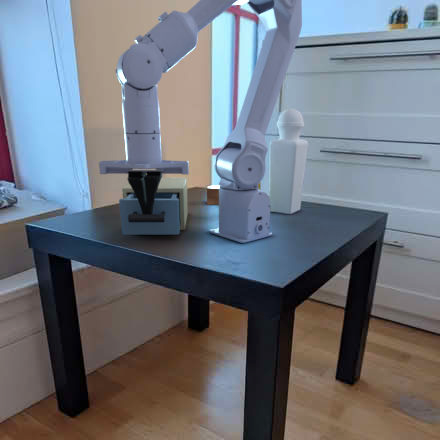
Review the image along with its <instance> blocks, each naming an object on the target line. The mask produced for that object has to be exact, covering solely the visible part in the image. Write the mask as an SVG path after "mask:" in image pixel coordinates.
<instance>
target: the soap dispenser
mask: <svg viewBox="0 0 440 440" xmlns="http://www.w3.org/2000/svg"><path fill="white" fill-rule="evenodd" d="M275 125H276V128H277V130H278V134H279V138H278V139H272V140H271V141H270V142H269V160H268V161H269V165H268V167H269V168H268V171H269V172H268V173H269V174H268V179H269V180H268V196H269V198H270V202H271V210H270V213H271V212H272V213H277V214H283V215H284V214H285V215H292V214H294V213H296V212H298V211H300V210H301V206H302V197H303V191H304V190H303V189H304V180H305V174H306V173H305V172H306V164H307V156H308V147H309V142H308V141H307V140H306V139H302V138H300V137H301V136H300V135H301V132H302V130H303V128H304V127H305V122H304V117H303V115H302V112H300V111H299V110H298V109H295V108H286V109H285V110H283V111H282V112H281V113H280V115H279V117H278V119H277V122H276V124H275Z"/></svg>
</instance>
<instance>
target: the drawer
mask: <svg viewBox="0 0 440 440" xmlns="http://www.w3.org/2000/svg"><path fill="white" fill-rule="evenodd" d="M118 205H119V214H120V225H121V234H122V235H125V236H127V235H128V236H129V235H130V236H131V235H132V236H133V235H135V236H136V235H137V236H138V235H139V236H140V235H142V236H143V235H144V236H145V235H147V236H148V235H156V236H158V235H163V236H164V235H165V236H166V235H167V236H168V235H169V236H170V235H173V236H174V235H175V236H176V235H180V233H181V230H180V223H179V217H180V208H179V193H156V196H155V200H154V205H153V214H142V210H141V207H140V204H139V201H138V199H137V197H136V195H135V193H130V194H129V195H128V196H127V198H126V199H123V198H119V200H118Z"/></svg>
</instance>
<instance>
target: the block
mask: <svg viewBox="0 0 440 440" xmlns="http://www.w3.org/2000/svg"><path fill="white" fill-rule="evenodd" d="M206 206H219V185H206Z"/></svg>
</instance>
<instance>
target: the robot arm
mask: <svg viewBox="0 0 440 440" xmlns="http://www.w3.org/2000/svg"><path fill="white" fill-rule="evenodd" d="M244 4H247V5H248V6H249V8H250V9H251V10H252V12H253V13H254V14H255V15H256V17H258V19H259V20H260V21H261V24H262V26H263V28H264V30H265V35H264V39H263V41H262V44H261V47H260V50H259V54H258V57H257V60H256V63H255V66H254V69H253V72H252V75H251V79H250V81H249V84H248V88H247V90H246V94H245V97H244V100H243V103H242V106H241V109H240V112H239V116H238V119H237V121H236V125H235V127H234V128H233V130H232V131H231V132H230V133H229V135H228V136H227V137H226V140H225V143H224V145H223V147H221V149H220V150H219V151H218V152H217V154H216V155H215V158H214V162H213V163H214V170H215V173H216V174H217V176H218V177H219V179H220V180H219V181H218V186H219V205H218V227H217V228H212V229H209V231H208V232H209V233H210V234H212V235H216V236H219V237H222V238H225V239H228V240H231V241H235V242H238V243H241V244H245V243H249V242H253V241H256V240H260V239H264V238H267V237H271V236H273V233H272V232H271V231H270V228H271V227H270V226H271V225H270V224H271V212H270V210H271V202H270V198H269V194H268V193H267V192H265V191H262V190H261V188H260V189H259V188H258V184H259V182H260V181H261V182H262V180H263V178H264V177H265V174H266V156H267V153H268V150H269V147H268V144H267V141H266V137H265V136H266V133H267V130H268V127H269V124H270V121H271V119H272V116H273V113H274V110H275V107H276V103H277V102H278V98H279V96H280V92H281V90H282V86H283V84H284V80H285V79H286V78H285V77H286V75H287V72H288V69H289V66H290V63H291V61H292V57H293V55H294V52H295V49H296V47H297V43H298V40H299V37H300V34H301V31H302V26H303V13H302V11H303V10H302V9H303V6H302V5H303V3H302V0H198V1H197V2H196V3H195V4H194V5H193V6H192V7H191V8H190V9H189V10H187V12H182V11H178V10H172V11H171V12H170V13H168V12H167V11H164V12H162V13H161V14H160V15H159V16H158V17H157V20H158V23H157V24H156V25H154V26H153V27H152V28H151V29H150V30H149V31H147V32H146V33H145V34H144V35H143V36H142V35H141V34H138V35H137V36H136V37H135V38H134V42H135V43H133V44H131V45H130V46H129V48H127V50H125V51H124V52H122V54H121V55H120V56H119V58H118V61H117V64H116V68H115V74H116V78H117V79H118V81H119V83H120V84H121V90H120V91H121V92H120V93H121V96H122V101H121V109H122V121H123V132H124V145H125V157H126V159H123V160H122V159H121V160H100V161H98V167H99V169H98V170H99V174H100V175H109V174H111V175H113V174H114V175H117V174H118V175H119V174H121V175H122V174H124V175H126V174H127V178H126V179H127V183H128V182H129V184H130V186H131V187H132V189H133V191H134V193H135V195H136V197H137V199H138V201H139V204H140V207H141V210H142V214H153V205H154V200H155V196H156V192H157V189H158V186H159V183H160V180H161V178H162V177H163V175H164V174H165V175H172V174H173V175H178V174H179V175H189V173H190V165H189V163H190V162H189V160H170V159H169V160H167V159H163V156H162V137H161V119H160V118H161V117H160V103H159V94H158V84H159V83H160V81H161V79H162V76H163V74H166V73H167V72H169V71H170V70H171V69H172V68H173V67H175V66H176V65H177V64H178V63H179V62H180V61H182V60H183V59H184V58H185V57H186V56H187V55H188V54H190V53H191V52H192V51H193V50H194V49H195V48H196V47H197V44H198V37H199V33H200V32H201V31H202V30H204V29H205V28H206V27H207V26H209V24H211V23H212V22H213V21H214V20H216V19H217V18H218V17H219V16H221V15H222V14H223V13H225V12H226V11H227V10H228V9H230V8H231V7H232V6H233V5H240V6H242V5H244Z"/></svg>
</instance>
